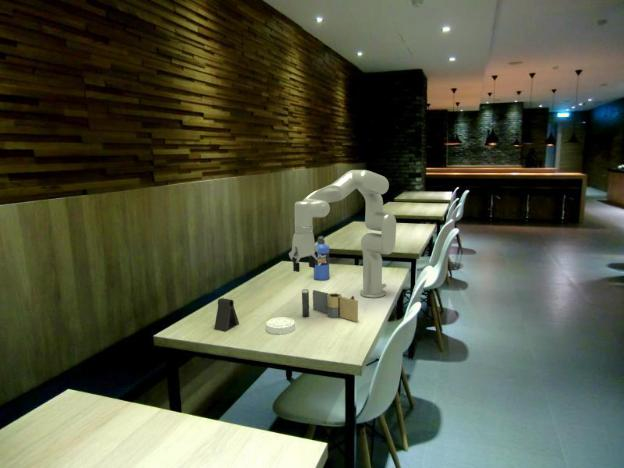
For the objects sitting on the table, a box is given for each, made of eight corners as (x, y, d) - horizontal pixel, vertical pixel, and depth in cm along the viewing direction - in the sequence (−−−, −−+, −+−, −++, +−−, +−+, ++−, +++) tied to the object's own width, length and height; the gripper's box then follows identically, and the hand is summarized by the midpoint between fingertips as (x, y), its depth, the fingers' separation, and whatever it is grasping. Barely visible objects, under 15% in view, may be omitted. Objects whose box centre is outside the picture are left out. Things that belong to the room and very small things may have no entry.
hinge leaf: (333, 311, 198) (333, 292, 197) (361, 319, 188) (361, 299, 186) (324, 315, 194) (324, 295, 192) (352, 323, 183) (352, 303, 182)
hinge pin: (305, 314, 195) (305, 288, 193) (310, 316, 193) (310, 290, 191) (301, 316, 193) (300, 290, 191) (305, 318, 191) (305, 291, 189)
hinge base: (318, 307, 204) (318, 288, 203) (344, 315, 194) (344, 295, 192) (309, 311, 200) (308, 291, 198) (335, 319, 189) (335, 298, 188)
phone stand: (225, 331, 178) (224, 303, 176) (214, 329, 181) (212, 301, 179) (239, 324, 186) (238, 297, 184) (228, 322, 188) (226, 295, 186)
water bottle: (329, 280, 250) (329, 237, 246) (313, 281, 250) (312, 237, 246) (329, 276, 259) (328, 234, 255) (313, 276, 259) (312, 235, 255)
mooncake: (288, 336, 172) (288, 328, 172) (261, 333, 176) (260, 324, 176) (299, 325, 183) (299, 317, 183) (273, 322, 187) (273, 314, 187)
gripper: (311, 227, 196) (311, 264, 198) (282, 231, 183) (283, 271, 186) (323, 228, 191) (324, 267, 193) (295, 233, 178) (296, 274, 181)
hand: (304, 269), depth 190 cm, fingers open, 9 cm apart
